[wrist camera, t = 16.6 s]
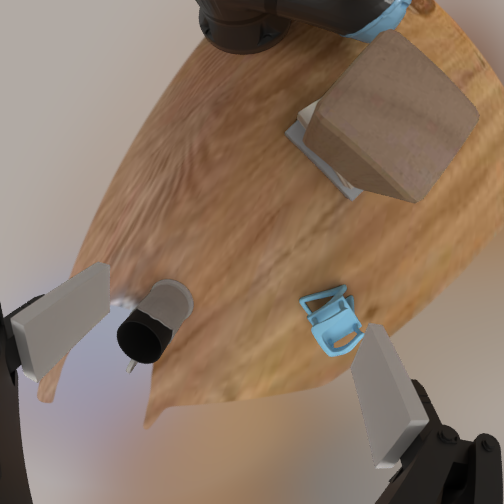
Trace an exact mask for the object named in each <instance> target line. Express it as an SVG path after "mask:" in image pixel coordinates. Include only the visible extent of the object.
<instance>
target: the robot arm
mask: <svg viewBox="0 0 504 504" xmlns="http://www.w3.org/2000/svg"><path fill="white" fill-rule="evenodd" d="M196 1H197V3H198V4H199V6H200V10H199V24H200V27H201V30H202V32H203V34H204V35H205V37H206V38H207V39H208V41H209V42H210V43H211V44H213V45H214V46H215V47H217V48H218V49H220V50H223V51H225V52H228V53H233V54H254V53H258V52H262V51H264V50H267V49H269V48H271V47H273V46H274V45H276V44H277V43H278V42H279V41H281V40H282V39H283V37H284V36H285V35H286V33H287V32H288V30H289V27H290V24H291V20H295V21H299V22H302V23H306V24H309V25H313V26H316V27H319V28H322V29H325V30H328V31H331V32H334V33H337V34H339V35H340V36H342V37H346V38H353V39H356V40H359V41H362V42H365V43H371V42H372V41H373V39H374V38H375V37H376V36H377V35H378V34H379V33H380V32H382V31H386V30H389V29H393V30H395V28H396V27H397V26H398V24H399V23H400V22H401V20H402V19H403V17H404V15H405V13H406V8H407V7H408V6H409V5H410V3H411V1H412V0H196ZM109 312H110V265H108V264H104V263H101V262H97V263H95V264H93V265H92V266H90V267H88V268H87V269H85V270H84V271H82V272H80V273H79V274H77V275H75V276H74V277H72V278H71V279H69V280H67V281H66V282H64V283H63V284H61V285H60V286H58V287H57V288H55V289H53V290H52V291H50V292H49V293H47V294H46V295H45V294H43V295H40V296H37V297H34V298H33V299H31V300H30V301H28V302H27V303H25V304H24V305H22V306H21V307H19V308H18V309H16V310H15V311H13V312H12V313H10V314H9V315H7V316H6V317H4V318H3V314H2V309H1V303H0V504H33V502H32V497H31V493H30V488H29V484H28V479H27V473H26V468H25V461H24V455H23V447H22V439H21V430H20V417H19V399H18V373H17V370H16V369H17V368H18V367H19V366H20V365H22V368H23V372H24V375H25V376H26V377H28V378H30V379H31V380H33V381H35V382H37V383H38V382H39V381H40V380H41V379H42V378H43V377H44V376H45V375H46V374H47V373H48V372H49V371H50V370H51V369H52V368H53V367H54V366H55V365H56V364H57V363H58V362H59V361H60V360H61V359H62V358H63V357H64V356H65V355H66V354H67V353H68V352H69V351H70V350H71V349H72V348H73V347H74V346H75V345H76V344H77V343H78V342H79V341H80V340H81V339H82V338H83V337H84V336H85V335H86V334H87V333H88V332H89V331H90V330H91V329H92V328H93V327H94V326H96V324H98V323H99V322H100V321H101V320H102V319H103V318H104V317H105V316H106V315H107V314H108V313H109ZM350 368H351V371H352V375H353V379H354V382H355V386H356V390H357V393H358V398H359V402H360V405H361V410H362V414H363V418H364V422H365V426H366V430H367V435H368V439H369V443H370V448H371V452H372V457H373V462H374V466H375V468H392V467H393V466H394V465H395V464H396V463H397V462H398V460H399V459H400V460H401V463H402V467H401V468H400V469H399V471H397V473H396V474H395V475H394V476H393V477H392V478H391V479H390V480H389V482H390V483H389V485H388V486H387V488H386V489H385V491H384V492H383V493H382V495H381V496H380V497H379V499H378V500H377V501H376V503H375V504H503V481H502V480H503V479H502V461H501V449H500V445H499V442H498V441H497V440H496V438H494V437H493V436H491V435H489V434H485V433H483V434H480V435H478V436H477V438H476V439H475V440H474V441H473V442H471V441H466V440H461V439H460V437H459V435H458V433H457V432H456V431H455V430H454V429H453V428H451V427H449V426H447V425H442V423H441V421H440V420H439V417H438V415H437V413H436V411H435V409H434V407H433V405H432V404H431V401H430V399H429V397H428V395H427V393H426V391H425V389H424V387H423V386H422V385H421V384H420V383H419V382H418V381H417V380H413V379H410V378H409V376H408V374H407V371H406V370H405V367H404V366H403V364H402V361H401V359H400V358H399V356H398V354H397V352H396V350H395V348H394V346H393V344H392V342H391V340H390V338H389V336H388V334H387V333H386V331H385V329H384V327H383V325H378V324H372V323H369V324H368V327H367V329H366V332H365V334H364V337H363V339H362V342H361V344H360V346H359V349H358V351H357V353H356V356H355V358H354V360H353V363H352V365H351V367H350Z"/></svg>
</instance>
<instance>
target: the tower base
mask: <svg viewBox="0 0 504 504" xmlns="http://www.w3.org/2000/svg"><path fill="white" fill-rule="evenodd" d="M323 96H324V95H323ZM323 96H322V97H323ZM322 97H321V98H322ZM305 131H306V130H305V128H304V127H303V126H302V124H301V123H300V122H299V120H297V121H296V122H295V123H294V124H293V125H292V126H291V127H290V128H289V129H288V130H287V131H286V132H285V136H286V137H287V138H288V139H289V140H290V141H291V142H292V143H293V144H294V145H296V146H297V147H298V148H299V149H300V150H301V151H302V152H303V153H304V154H305V155H306V156H307V157H308V158H309V159H310V160H311V161H312V162H313V163H314V164H315V165H316V166H317V167H318V168H319V169H320V170H321V171H322V172H323V173H324V174H325V176H326V177H327V178H328V179H329V180H330V181H331V182H332V183H333V184H334V185H335V186H336V187H337V188H338V189H339V190H340V191H341V192H342V193H343V195H344V196H345V197H346V198H348V199H349V200H351V201H353V200H354V199H355V198H356V197H357V196H358V195H359V194H360V193H361V192H362V191H363V190H361V189H358V188H355V187H353V188H352V189H350V188H347V187H344V186H343V184H342V183H341V181H340V179H339V178H338V176H337V175H336V173H335V172H334V170H333V169H332V167H331V166H329V165H328V164H327V163H326V162H325V161H323V160H322V159H321V158H320V157H319V156H317V155H316V154H315V153H314V152H313V151H311V150H310V149H309V148H308V147H306V146H305V144H304V142H303V141H302V140H303V136H304V134H305Z"/></svg>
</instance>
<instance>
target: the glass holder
mask: <svg viewBox="0 0 504 504" xmlns="http://www.w3.org/2000/svg"><path fill="white" fill-rule="evenodd" d="M192 310H193V298H192V295H191V293H190V291H189V290H188V289H187V288H186V287H185V286H184V285H183V284H181V283H180V282H178V281H175V280H171V279H164V280H161V281H158V282H157V283H155V285H154V286H153V287H152V289H151V292H150V293H149V294H148V295H147V296H146V297H145V298H144V299H143V300H142V301H141V303H140V304H139V305H138V306H137V307H136V308H135V309H134V310H133V311H132V312H131V313H130V316H129V317H128V318H127V319H126V320H125V321H124V322H123V323H122V324H121V326H120V327H119V328H118V331H117V340H118V344H119V346H120V348H121V349H122V351H124V353H125V354H126V355H127V356H129V357H130V358H131V361H130V363H129V365H128V367H127V369H126V372H128V373H130V372H131V371H132V370H133V369H134V367H135V366H136V364H137V363H138V362H139V363H144V364H149V363H154V362H156V361H157V360H158V359H159V358H160V357H161V355H162V353H163V352H164V350H165V348H166V347H167V345H168V344H170V342H171V341H172V339H173V337H174V336H175V334H176V333H177V331H178V329H179V328H180V326H181V324H182V323H183V321H184V320H185V319H186V318H188V317H189V316H190V314H191V313H192Z"/></svg>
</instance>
